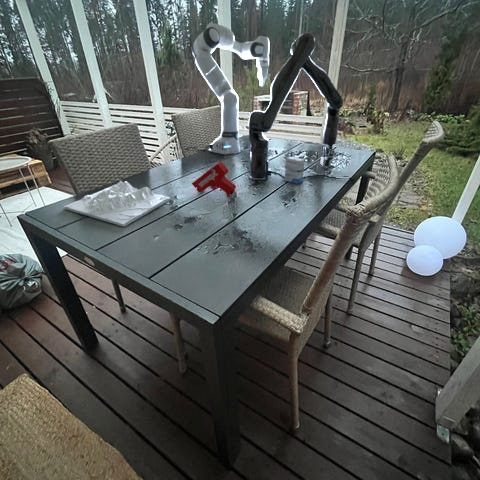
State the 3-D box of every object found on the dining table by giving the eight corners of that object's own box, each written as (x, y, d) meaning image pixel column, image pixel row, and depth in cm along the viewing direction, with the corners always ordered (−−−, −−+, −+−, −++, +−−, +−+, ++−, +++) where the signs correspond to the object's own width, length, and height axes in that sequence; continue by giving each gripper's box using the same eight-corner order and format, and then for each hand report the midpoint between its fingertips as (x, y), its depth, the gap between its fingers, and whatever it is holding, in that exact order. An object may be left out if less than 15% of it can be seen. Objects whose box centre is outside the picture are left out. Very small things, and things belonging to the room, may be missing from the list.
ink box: (302, 181, 142) (305, 159, 136) (297, 184, 139) (300, 161, 133) (289, 177, 147) (291, 156, 141) (284, 180, 144) (285, 158, 138)
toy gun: (240, 187, 127) (221, 160, 123) (237, 190, 124) (218, 163, 120) (214, 205, 137) (195, 180, 133) (210, 208, 134) (191, 183, 130)
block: (319, 164, 164) (321, 157, 162) (327, 164, 165) (328, 156, 162) (322, 166, 161) (323, 159, 158) (330, 166, 161) (331, 158, 158)
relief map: (124, 226, 104) (120, 214, 101) (64, 208, 117) (60, 197, 114) (169, 200, 124) (168, 189, 121) (115, 187, 137) (112, 177, 135)
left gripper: (256, 64, 204) (255, 85, 211) (260, 64, 187) (259, 87, 194) (264, 64, 204) (263, 85, 212) (269, 64, 187) (268, 86, 195)
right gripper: (341, 137, 147) (335, 168, 157) (331, 132, 159) (326, 161, 169) (328, 137, 147) (323, 168, 156) (319, 132, 159) (315, 161, 168)
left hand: (261, 86), depth 203 cm, fingers open, 8 cm apart
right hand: (325, 164), depth 162 cm, fingers closed on block, 4 cm apart
